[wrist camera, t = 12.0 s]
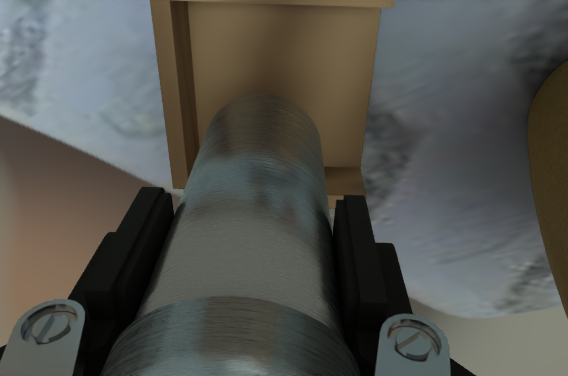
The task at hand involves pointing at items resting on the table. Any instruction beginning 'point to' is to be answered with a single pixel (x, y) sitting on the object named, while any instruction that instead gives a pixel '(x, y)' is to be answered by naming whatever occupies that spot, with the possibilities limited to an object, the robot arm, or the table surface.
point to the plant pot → (551, 171)
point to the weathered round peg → (245, 259)
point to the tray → (269, 71)
